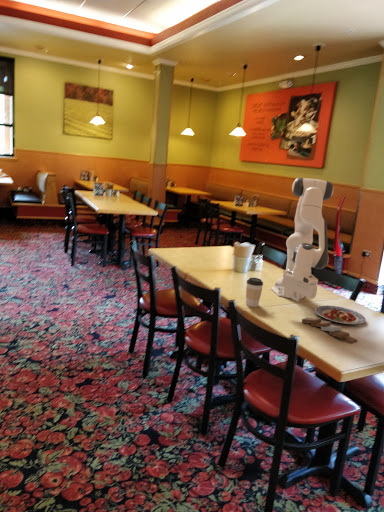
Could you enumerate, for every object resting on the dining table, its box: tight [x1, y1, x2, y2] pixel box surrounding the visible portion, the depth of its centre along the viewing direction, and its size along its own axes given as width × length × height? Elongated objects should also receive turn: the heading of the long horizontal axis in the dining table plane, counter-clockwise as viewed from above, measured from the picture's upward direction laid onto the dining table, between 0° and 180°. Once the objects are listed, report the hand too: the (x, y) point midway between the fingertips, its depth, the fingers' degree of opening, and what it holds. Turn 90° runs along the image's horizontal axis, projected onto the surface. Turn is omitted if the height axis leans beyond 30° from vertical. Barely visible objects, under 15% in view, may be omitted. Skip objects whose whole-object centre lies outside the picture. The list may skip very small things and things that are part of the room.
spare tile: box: [320, 325, 342, 332], centre depth 201 cm, size 2×5×8 cm
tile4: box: [328, 330, 351, 339], centre depth 196 cm, size 2×5×8 cm
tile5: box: [336, 336, 358, 344], centre depth 195 cm, size 2×5×8 cm
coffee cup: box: [245, 277, 264, 308], centre depth 228 cm, size 9×9×15 cm
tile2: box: [310, 320, 332, 328], centre depth 206 cm, size 2×5×8 cm
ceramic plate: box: [314, 305, 366, 325], centre depth 223 cm, size 26×26×3 cm
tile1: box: [301, 317, 322, 324], centre depth 210 cm, size 2×5×8 cm
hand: (295, 300), depth 216 cm, fingers closed
